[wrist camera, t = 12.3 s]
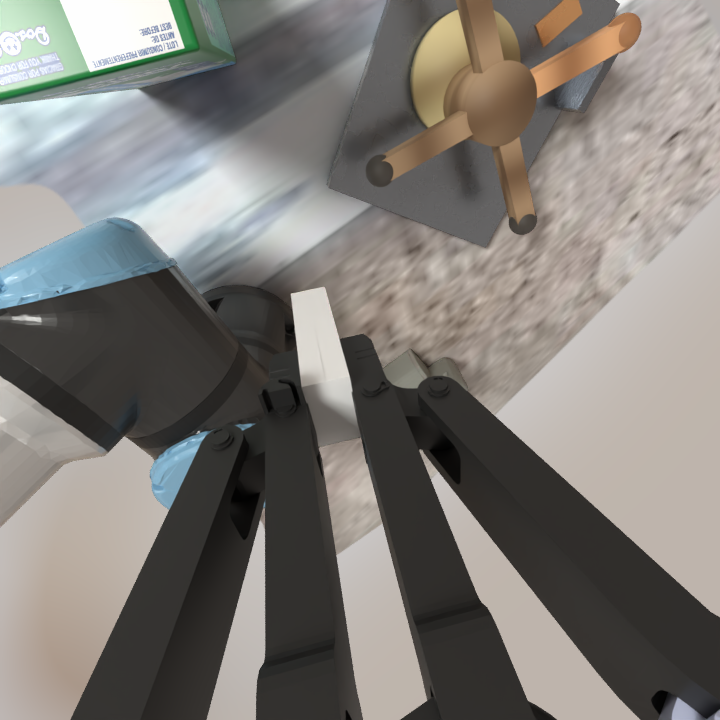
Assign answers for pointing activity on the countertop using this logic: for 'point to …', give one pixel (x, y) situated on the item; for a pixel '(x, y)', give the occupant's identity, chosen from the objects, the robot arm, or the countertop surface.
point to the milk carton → (105, 45)
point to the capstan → (488, 94)
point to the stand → (467, 158)
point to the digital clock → (420, 371)
